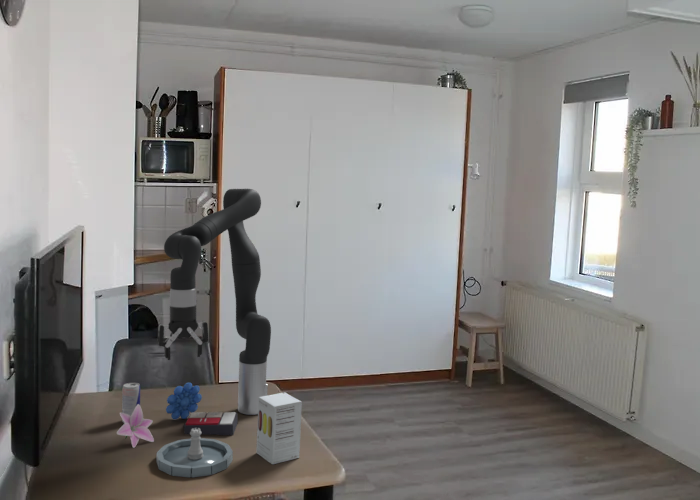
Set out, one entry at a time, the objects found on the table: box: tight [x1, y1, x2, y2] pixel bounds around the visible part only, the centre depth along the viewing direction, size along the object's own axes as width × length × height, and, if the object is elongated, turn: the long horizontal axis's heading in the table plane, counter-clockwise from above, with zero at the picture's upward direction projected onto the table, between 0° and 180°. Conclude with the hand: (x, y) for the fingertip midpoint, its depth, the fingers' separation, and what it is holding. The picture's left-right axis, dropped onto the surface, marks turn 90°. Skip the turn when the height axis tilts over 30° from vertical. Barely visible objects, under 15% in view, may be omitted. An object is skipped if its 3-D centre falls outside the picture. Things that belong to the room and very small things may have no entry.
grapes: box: [165, 382, 203, 420], centre depth 216 cm, size 12×7×12 cm, turn 120°
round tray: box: [156, 437, 234, 478], centre depth 185 cm, size 20×20×2 cm
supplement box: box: [255, 391, 303, 465], centre depth 191 cm, size 10×9×17 cm
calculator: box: [183, 411, 239, 436], centre depth 210 cm, size 11×4×15 cm
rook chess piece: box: [187, 428, 203, 460], centre depth 185 cm, size 4×4×8 cm
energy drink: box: [121, 382, 141, 425], centre depth 211 cm, size 5×5×12 cm
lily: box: [116, 404, 155, 448], centre depth 196 cm, size 12×12×10 cm
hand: (183, 357), depth 196 cm, fingers open, 8 cm apart
